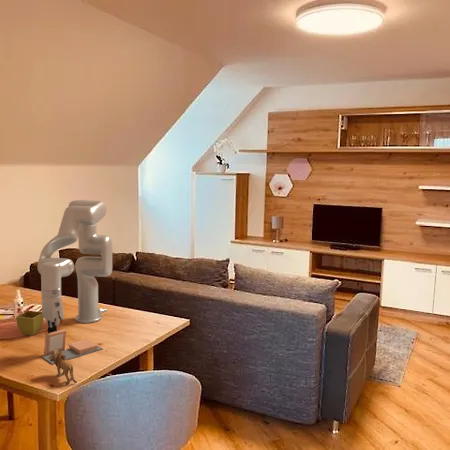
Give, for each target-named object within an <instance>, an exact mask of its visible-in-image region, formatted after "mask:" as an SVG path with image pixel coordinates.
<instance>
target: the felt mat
mask: <svg viewBox="0 0 450 450" xmlns="http://www.w3.org/2000/svg"><path fill="white" fill-rule="evenodd" d="M102 350H104V348H103V347H101V346H99V345H97V349H95V350H92V351H89V352H85V353H82V354H79V353H77V352H75V351H74V350H72V349H70V348H67V349H65V350H63V351H61V352H62V353H63V354H64V355H65V357H66V360H67V361H70V360H73V359H77V358H79V357H82V356H86V355H89V354H92V353H96V352H99V351H102ZM51 355H52V354H49V355H43V356H41V358H42V359H43V360H44V361H46V362H48V363H49V364H51V365H52V366H53V365H55V363H54V362H53V361H52V362H51V361H50V360H49V357H50V356H51Z"/></svg>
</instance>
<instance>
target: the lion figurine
mask: <svg viewBox="0 0 450 450" xmlns="http://www.w3.org/2000/svg"><path fill="white" fill-rule="evenodd" d="M49 360H50V361H51V362H52V361H53V362H54V363H55V364H54V365H55V367H56V371H57V374H56V377H57V376H58V377H60V376H61V375H62V374H63V375H64V376H65V378H66V382H65V383H66V385H69V384H71V381H70V380H72V381H73V383H75V384H77V383H78V382H77V381H76V380H75V377H74V365H73V363H72V362H71V361H69V360H66V357H65V355H64V354H63V353H62V352H61V351H59V350H54V351H53V354H52V355H51V356H50V357H49ZM61 370H62V374H61ZM69 376H70V377H69Z"/></svg>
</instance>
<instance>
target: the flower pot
mask: <svg viewBox="0 0 450 450" xmlns="http://www.w3.org/2000/svg"><path fill="white" fill-rule="evenodd" d="M44 319H45V318H44V317H43V316H42V311H33V310H26V311H24V312H23V313H21V314H19V315H17V316H15V320H16V325H17V329H18V331H19V332H20V333H21V334H22V335H25V336H33V335H36V334H38V333H39V332H40V330H41V328H42V327H43V324H44Z"/></svg>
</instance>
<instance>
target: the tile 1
mask: <svg viewBox="0 0 450 450" xmlns="http://www.w3.org/2000/svg"><path fill="white" fill-rule="evenodd" d="M66 334H67V330H66V329H64V328H63V329H60V330H57V331H55V332H52V333H48V332H47V333H45V334H44V352H43V354H44V356H46V355H49V354H53V351H54V350H59V351H63V350H66V349H65V348H66V339H67V338H66V337H67V336H66Z"/></svg>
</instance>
